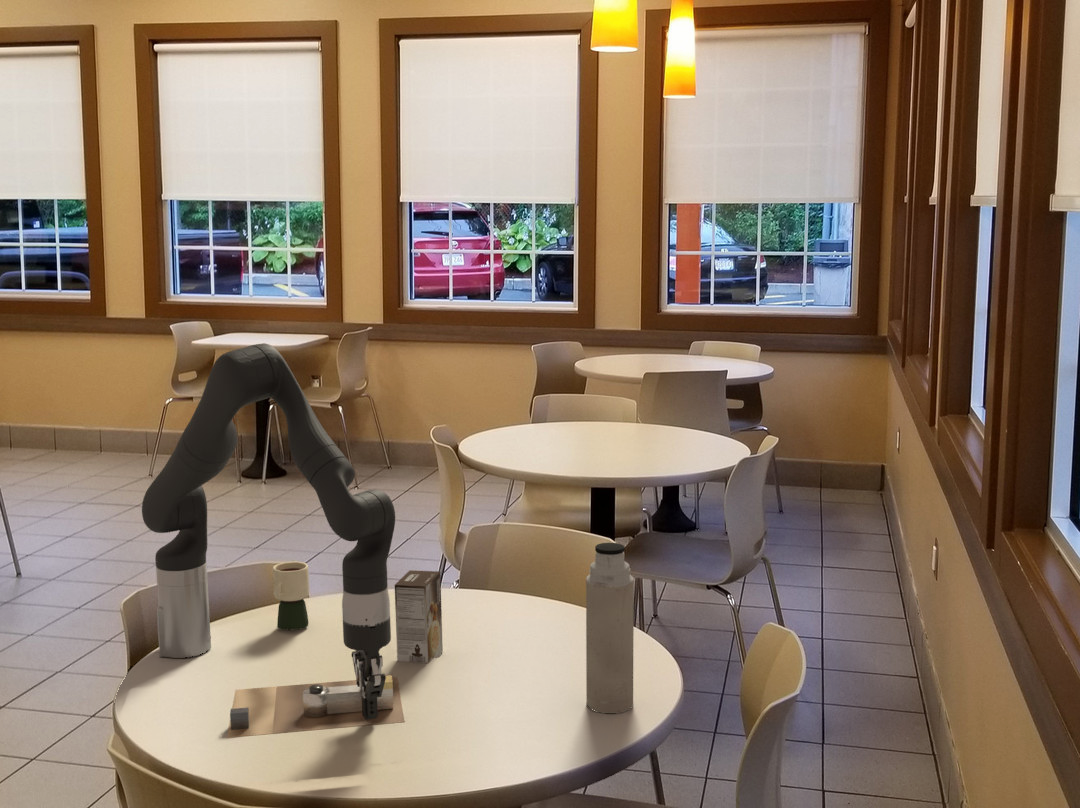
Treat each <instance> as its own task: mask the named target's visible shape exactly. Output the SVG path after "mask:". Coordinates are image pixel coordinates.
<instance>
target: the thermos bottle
mask: <svg viewBox="0 0 1080 808" xmlns="http://www.w3.org/2000/svg"><path fill="white" fill-rule="evenodd" d="M594 550H595V552H596V553H595V559H594V561H593V562H591V563H590V566H589V567H590V568H589V570H588V571H589V574H588V575H587V576H586V578H585V580H586V581H585V585H586V586H585V589H586V591H585V592H586V593H585V596H586V597H585V600H586V601H585V602H586V606H585V607H586V609H585V610H586V611H585V612H586V613H585V616H586V617H585V619H586V620H585V621H586V622H585V624H586V625H585V627H586V629H585V630H586V631H585V632H586V633H585V636H586V638H585V640H586V642H585V644H586V645H585V646H586V648H585V649H586V650H585V651H586V658H585V659H586V660H585V661H586V681H585V682H586V695H585V696H586V706H587V705H588V706H589V707H590V708H591V709H593V710H595V711H594V712H596V711H597V712H596V713H599V712H601V713H600V714H605V713H616V714H621V713H620V712H622V713H625V712H627V710H628V711H629V710H631V709H632V708H633V706H634V635H635V634H634V624H635V623H634V620H635V619H634V617H635V616H634V608H635V607H634V605H635V603H634V599H635V598H634V595H635V594H634V593H635V592H634V591H635V590H634V589H635V587H634V582H635V581H634V577H633V576H632V575H631V574H630V572H631V568H630V564H629V563H628V562H627V561H625V553H624V552H625V550H626V549H625V545H624V544H621V543H617V542H602V543H598V544H596V545H595V549H594ZM588 706H587V707H588ZM589 707H588V708H589ZM631 707H632V708H631ZM590 708H589V709H590ZM630 708H631V709H630ZM591 709H590V710H591ZM593 710H592V711H593Z"/></svg>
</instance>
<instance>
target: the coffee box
mask: <svg viewBox="0 0 1080 808" xmlns="http://www.w3.org/2000/svg"><path fill="white" fill-rule="evenodd" d="M441 578H442V577H441V571H440V570H439V571H437V570H436V571H435V570H412V569H411V570H408V571H407V572H406V573H405V574H404V575H403V576H402V577H401V578H400V579H399V580H398V581H397V582H396V583H395V584H394V605H395V607H394V608H395V630H396V631H395V632H396V633H395V634H396V635H395V636H396V660H397V662H408V663H422V664H423V663H424V664H428V663H430V662H431V661H432V660H433V659H437V658H439V656H440V655H441V654H442V652H443V650H444V648H443V646H444V645H443V622H442V621H443V620H442V618H443V617H442V612H443V611H442V584H441V583H442V582H441Z"/></svg>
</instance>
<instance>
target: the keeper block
mask: <svg viewBox="0 0 1080 808" xmlns="http://www.w3.org/2000/svg"><path fill="white" fill-rule="evenodd" d="M229 717H230V718H229V719H230V720H229V723H230V722H231V730H236V729H248V728H249V724H250V723H249V707H247V708H235V709H232V708H230V711H229Z"/></svg>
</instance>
